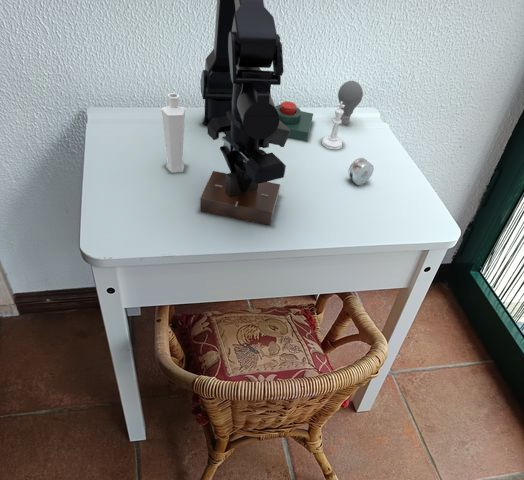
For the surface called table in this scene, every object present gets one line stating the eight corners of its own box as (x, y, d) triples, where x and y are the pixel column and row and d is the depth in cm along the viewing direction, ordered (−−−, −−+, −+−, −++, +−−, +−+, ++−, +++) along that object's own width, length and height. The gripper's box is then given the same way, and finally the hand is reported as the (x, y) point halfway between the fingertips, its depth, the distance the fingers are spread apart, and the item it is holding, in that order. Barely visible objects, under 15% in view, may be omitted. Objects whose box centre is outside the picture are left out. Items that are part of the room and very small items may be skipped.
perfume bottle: (166, 160, 105) (162, 88, 93) (186, 163, 105) (185, 91, 94) (162, 172, 102) (158, 99, 90) (183, 174, 102) (182, 102, 91)
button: (279, 114, 116) (280, 106, 115) (281, 107, 118) (282, 100, 117) (293, 117, 116) (295, 109, 115) (296, 110, 118) (297, 103, 117)
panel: (199, 212, 95) (199, 198, 93) (213, 182, 102) (213, 169, 99) (269, 226, 95) (271, 213, 92) (278, 196, 101) (280, 182, 99)
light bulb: (346, 131, 122) (356, 89, 114) (327, 121, 124) (336, 80, 116) (359, 124, 125) (370, 83, 117) (341, 114, 127) (350, 74, 120)
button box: (258, 131, 117) (259, 115, 114) (265, 112, 123) (267, 96, 120) (306, 141, 117) (309, 125, 114) (311, 122, 123) (314, 106, 120)
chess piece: (340, 151, 116) (351, 108, 108) (320, 147, 116) (329, 104, 108) (342, 141, 119) (353, 99, 111) (323, 137, 119) (332, 95, 111)
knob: (229, 196, 94) (230, 177, 91) (225, 192, 95) (226, 172, 92) (257, 189, 97) (259, 169, 93) (253, 184, 97) (255, 165, 94)
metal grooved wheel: (352, 187, 106) (358, 166, 103) (344, 180, 108) (350, 159, 104) (369, 182, 109) (376, 161, 105) (361, 175, 110) (367, 154, 106)
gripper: (317, 126, 82) (301, 205, 94) (259, 79, 91) (252, 156, 103) (261, 138, 78) (252, 219, 90) (206, 87, 87) (205, 167, 99)
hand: (241, 188), depth 95 cm, fingers closed on knob, 2 cm apart
